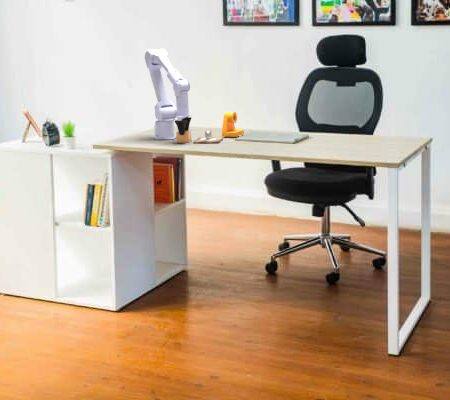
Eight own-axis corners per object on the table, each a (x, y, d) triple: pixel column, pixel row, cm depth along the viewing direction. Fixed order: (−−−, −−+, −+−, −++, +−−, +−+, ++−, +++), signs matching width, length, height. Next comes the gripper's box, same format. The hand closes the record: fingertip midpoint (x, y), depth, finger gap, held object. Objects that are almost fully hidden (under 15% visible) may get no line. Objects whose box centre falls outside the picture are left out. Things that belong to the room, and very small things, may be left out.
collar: (176, 142, 450) (176, 132, 449) (179, 140, 455) (179, 130, 454) (188, 142, 449) (188, 132, 447) (191, 140, 454) (191, 130, 453)
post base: (193, 143, 445) (193, 141, 445) (199, 139, 456) (199, 137, 456) (218, 143, 442) (218, 141, 442) (223, 139, 454) (223, 137, 454)
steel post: (204, 142, 448) (204, 131, 447) (206, 141, 451) (205, 130, 450) (210, 142, 448) (210, 131, 447) (212, 141, 451) (211, 130, 449)
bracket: (235, 138, 457) (234, 113, 454) (222, 137, 460) (221, 113, 457) (244, 134, 466) (243, 110, 463) (231, 134, 469) (230, 110, 466)
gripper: (186, 107, 440) (188, 135, 443) (194, 103, 454) (195, 131, 457) (172, 107, 442) (173, 136, 445) (179, 103, 456) (181, 131, 458)
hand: (183, 133), depth 451 cm, fingers open, 7 cm apart
